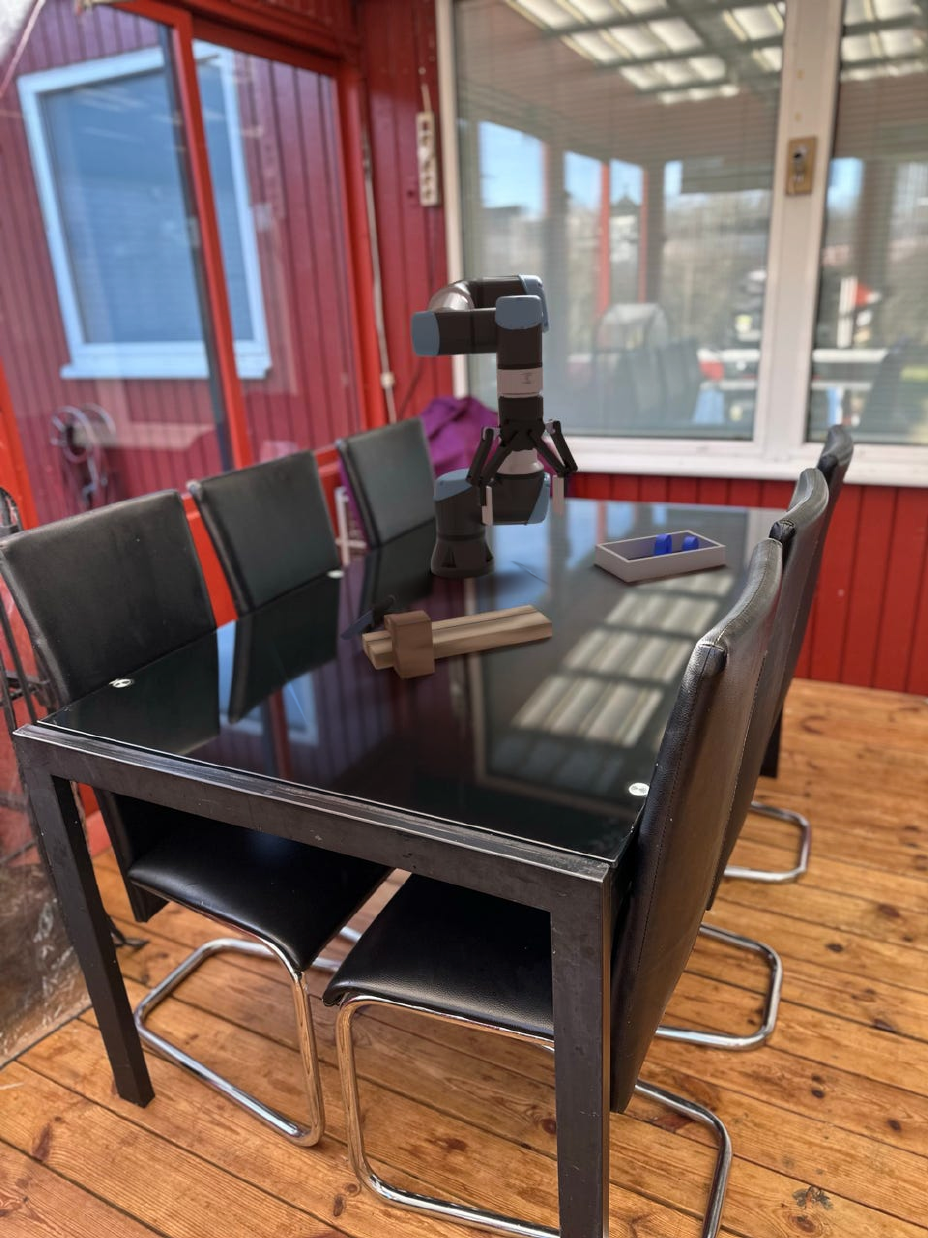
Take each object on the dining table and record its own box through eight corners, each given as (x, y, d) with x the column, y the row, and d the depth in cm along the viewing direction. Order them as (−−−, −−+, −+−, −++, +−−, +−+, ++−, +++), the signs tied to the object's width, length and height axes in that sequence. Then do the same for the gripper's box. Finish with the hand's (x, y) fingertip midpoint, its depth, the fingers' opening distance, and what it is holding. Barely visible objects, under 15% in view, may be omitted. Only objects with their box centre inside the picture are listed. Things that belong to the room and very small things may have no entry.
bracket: (688, 580, 199) (690, 541, 196) (652, 575, 203) (654, 538, 200) (709, 557, 214) (711, 521, 211) (675, 553, 218) (677, 518, 215)
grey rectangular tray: (594, 563, 206) (594, 544, 204) (687, 548, 213) (688, 530, 212) (627, 582, 193) (627, 562, 191) (724, 565, 200) (726, 546, 199)
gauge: (376, 643, 168) (371, 593, 164) (406, 637, 170) (402, 588, 166) (401, 679, 152) (397, 625, 149) (434, 672, 154) (431, 619, 150)
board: (363, 649, 165) (361, 634, 164) (530, 619, 175) (530, 604, 174) (376, 669, 156) (375, 653, 155) (551, 636, 166) (551, 621, 165)
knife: (387, 611, 184) (385, 588, 183) (397, 612, 184) (396, 589, 182) (335, 652, 163) (333, 626, 161) (347, 653, 162) (345, 627, 160)
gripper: (459, 403, 140) (465, 533, 147) (597, 389, 148) (596, 513, 156) (442, 398, 146) (449, 523, 154) (576, 385, 155) (576, 504, 162)
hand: (523, 518), depth 155 cm, fingers open, 13 cm apart
